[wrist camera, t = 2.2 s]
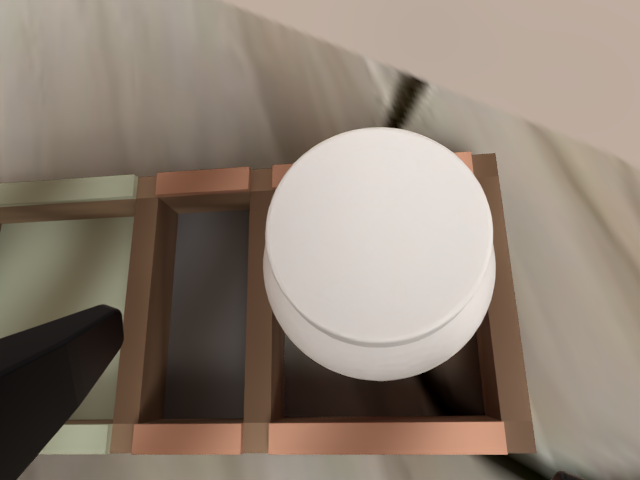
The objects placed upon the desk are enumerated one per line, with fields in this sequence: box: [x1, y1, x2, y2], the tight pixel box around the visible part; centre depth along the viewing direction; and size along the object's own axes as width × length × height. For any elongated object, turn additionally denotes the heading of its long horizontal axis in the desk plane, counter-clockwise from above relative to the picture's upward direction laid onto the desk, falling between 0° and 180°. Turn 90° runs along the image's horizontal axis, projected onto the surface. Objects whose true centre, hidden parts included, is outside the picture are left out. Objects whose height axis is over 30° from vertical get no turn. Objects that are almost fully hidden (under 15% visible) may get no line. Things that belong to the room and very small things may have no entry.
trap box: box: [0, 152, 536, 454], centre depth 19 cm, size 24×11×3 cm, turn 91°
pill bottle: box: [263, 127, 496, 381], centre depth 15 cm, size 6×6×11 cm
